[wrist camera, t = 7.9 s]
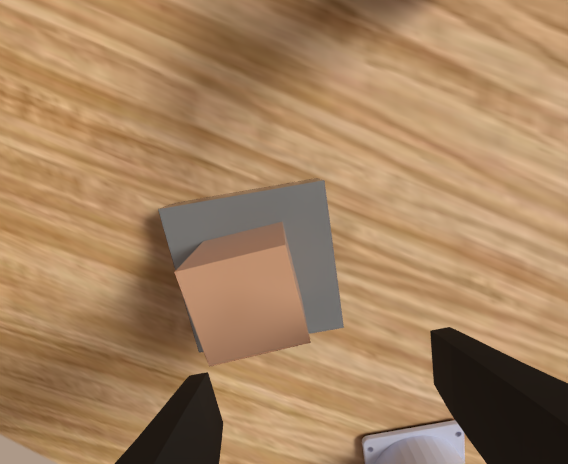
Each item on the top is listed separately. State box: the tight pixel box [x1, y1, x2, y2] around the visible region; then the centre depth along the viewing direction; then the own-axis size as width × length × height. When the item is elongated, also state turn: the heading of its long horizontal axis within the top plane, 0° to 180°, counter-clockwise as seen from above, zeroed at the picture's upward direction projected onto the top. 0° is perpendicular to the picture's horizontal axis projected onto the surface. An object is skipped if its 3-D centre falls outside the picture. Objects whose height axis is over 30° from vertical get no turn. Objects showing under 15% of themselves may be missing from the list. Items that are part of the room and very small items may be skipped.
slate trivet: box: [158, 178, 344, 352], centre depth 17 cm, size 9×9×3 cm
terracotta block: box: [174, 222, 311, 366], centre depth 13 cm, size 4×4×4 cm
